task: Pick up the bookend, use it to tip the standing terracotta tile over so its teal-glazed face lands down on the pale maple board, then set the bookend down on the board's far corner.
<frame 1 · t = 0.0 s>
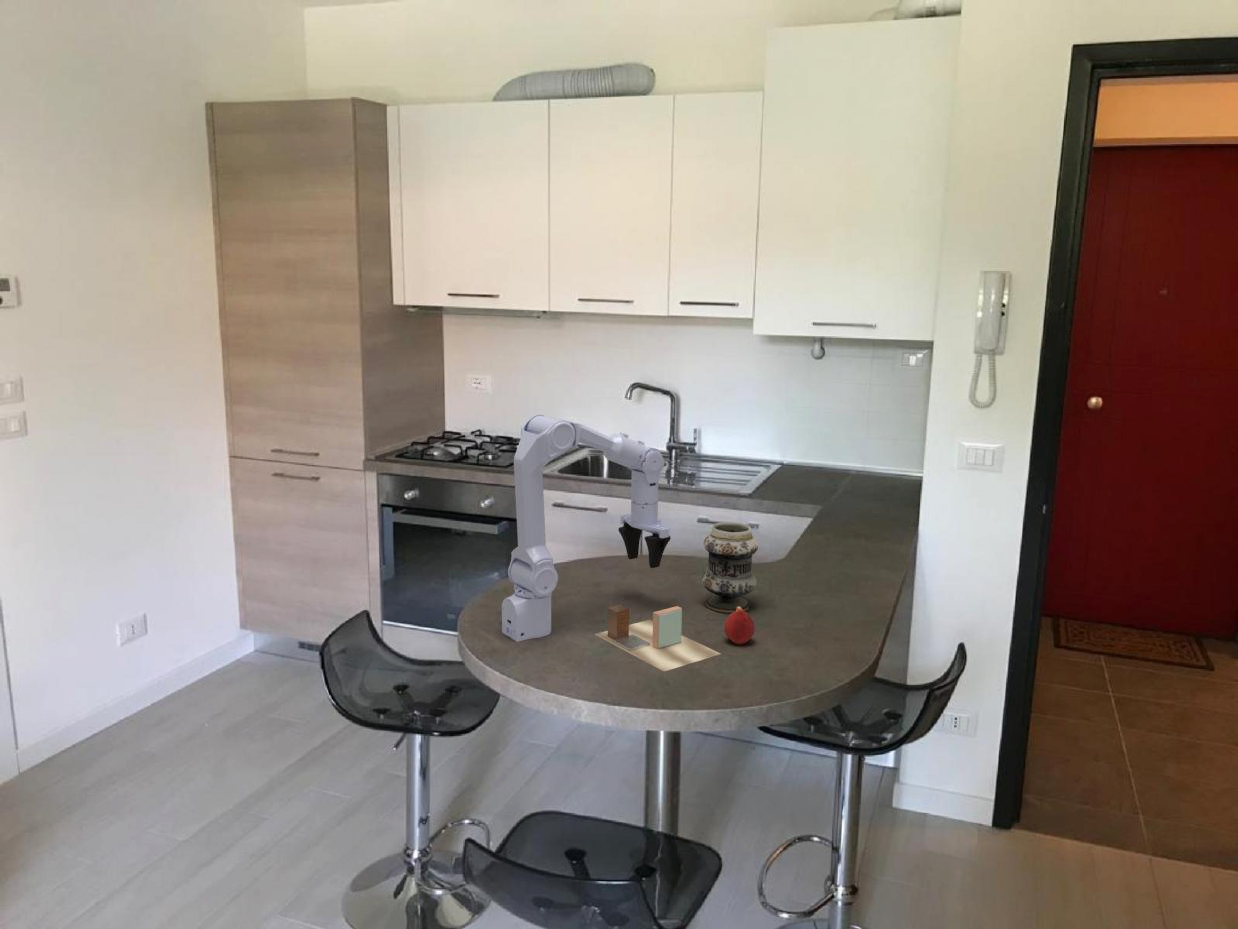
hand: (643, 562, 203), 10 cm above the countertop, fingers open, 7 cm apart
board: (656, 647, 182), on the countertop
onion: (738, 646, 184), on the countertop
tile: (666, 644, 182), point 1 cm above the countertop, touching board
apothecary jar: (728, 606, 206), on the countertop
bookend: (618, 637, 185), point 1 cm above the countertop, touching board
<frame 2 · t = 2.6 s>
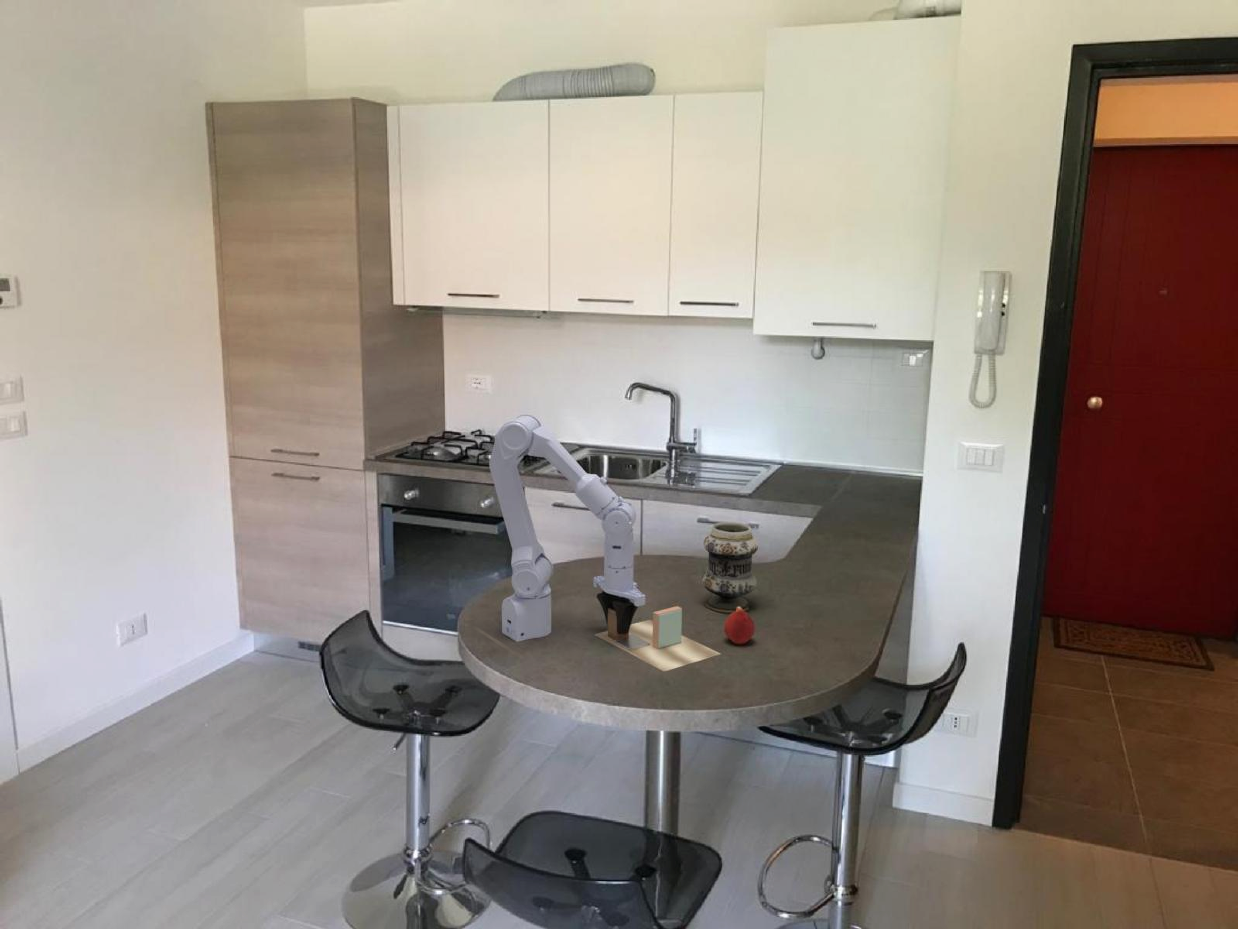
hand: (618, 630, 185), 2 cm above the countertop, fingers closed on bookend, 3 cm apart
bookend: (618, 637, 185), point 1 cm above the countertop, touching board, gripper
everything else where it was.
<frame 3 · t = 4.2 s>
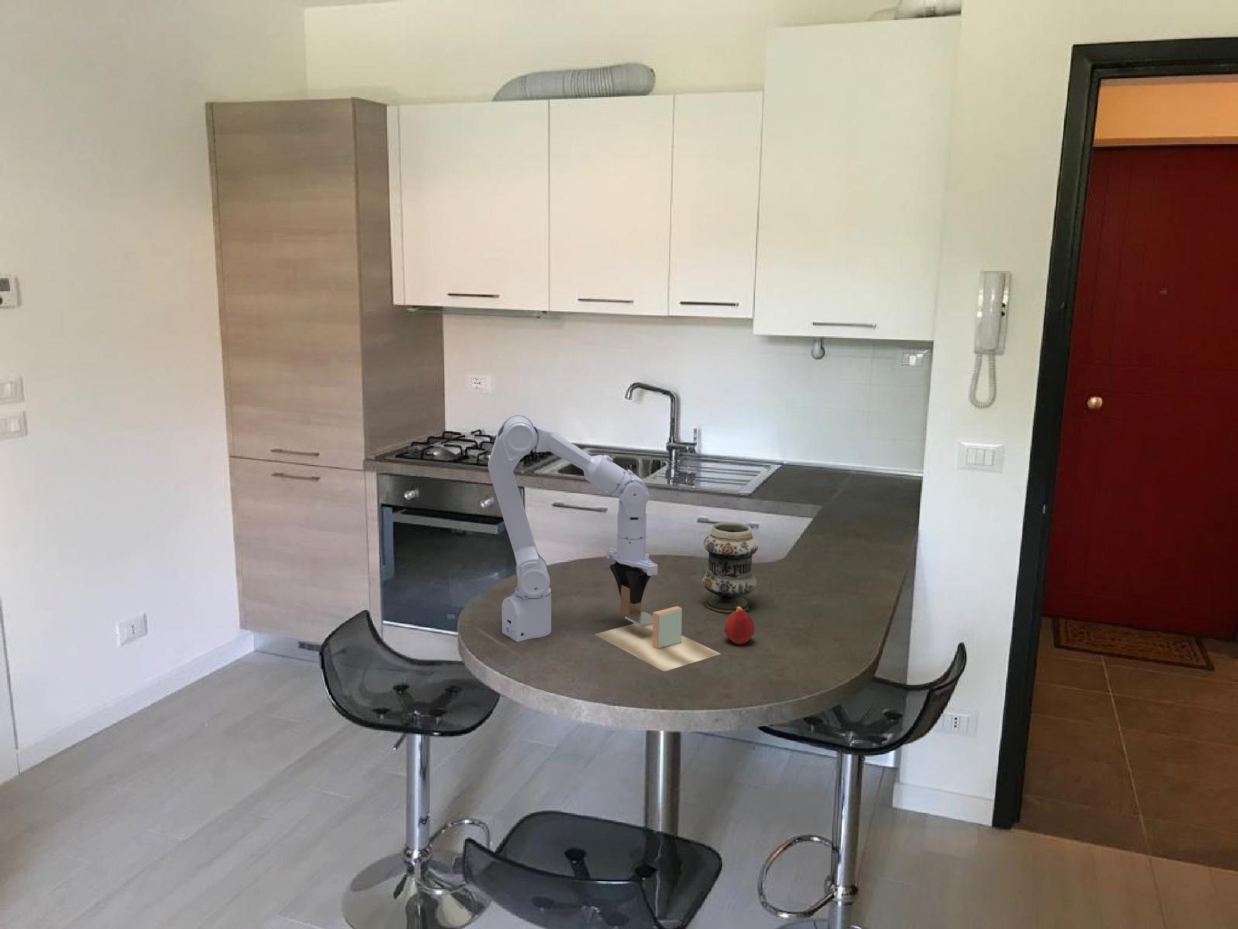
hand: (630, 600, 190), 6 cm above the countertop, fingers closed on bookend, 3 cm apart
bookend: (630, 613, 191), point 3 cm above the countertop, touching gripper
everything else where it was.
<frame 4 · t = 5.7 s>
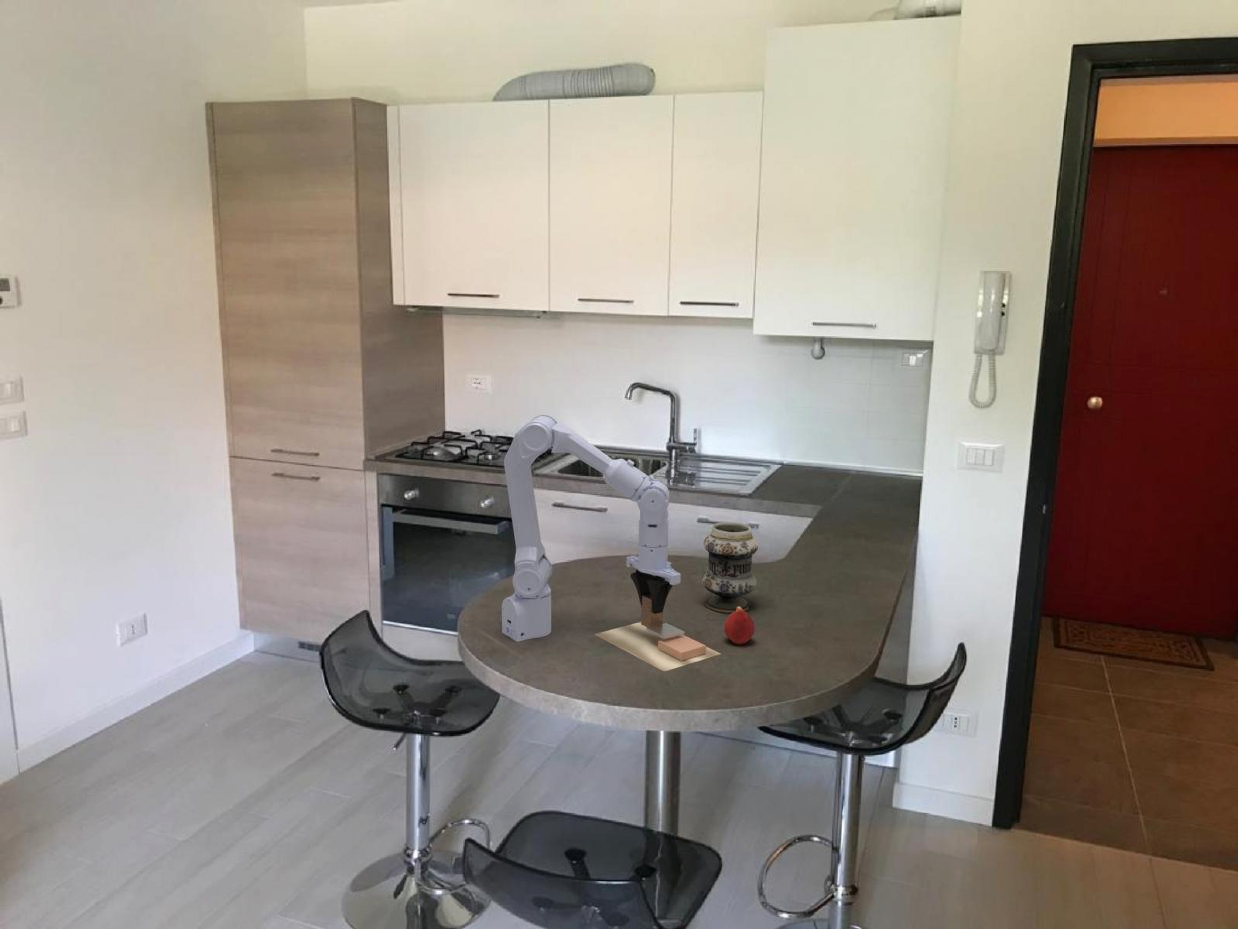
hand: (652, 610, 185), 6 cm above the countertop, fingers closed on bookend, 3 cm apart
tile: (670, 641, 181), point 2 cm above the countertop, tilted 90°, touching board
bookend: (651, 625, 185), point 3 cm above the countertop, touching gripper
everything else where it was.
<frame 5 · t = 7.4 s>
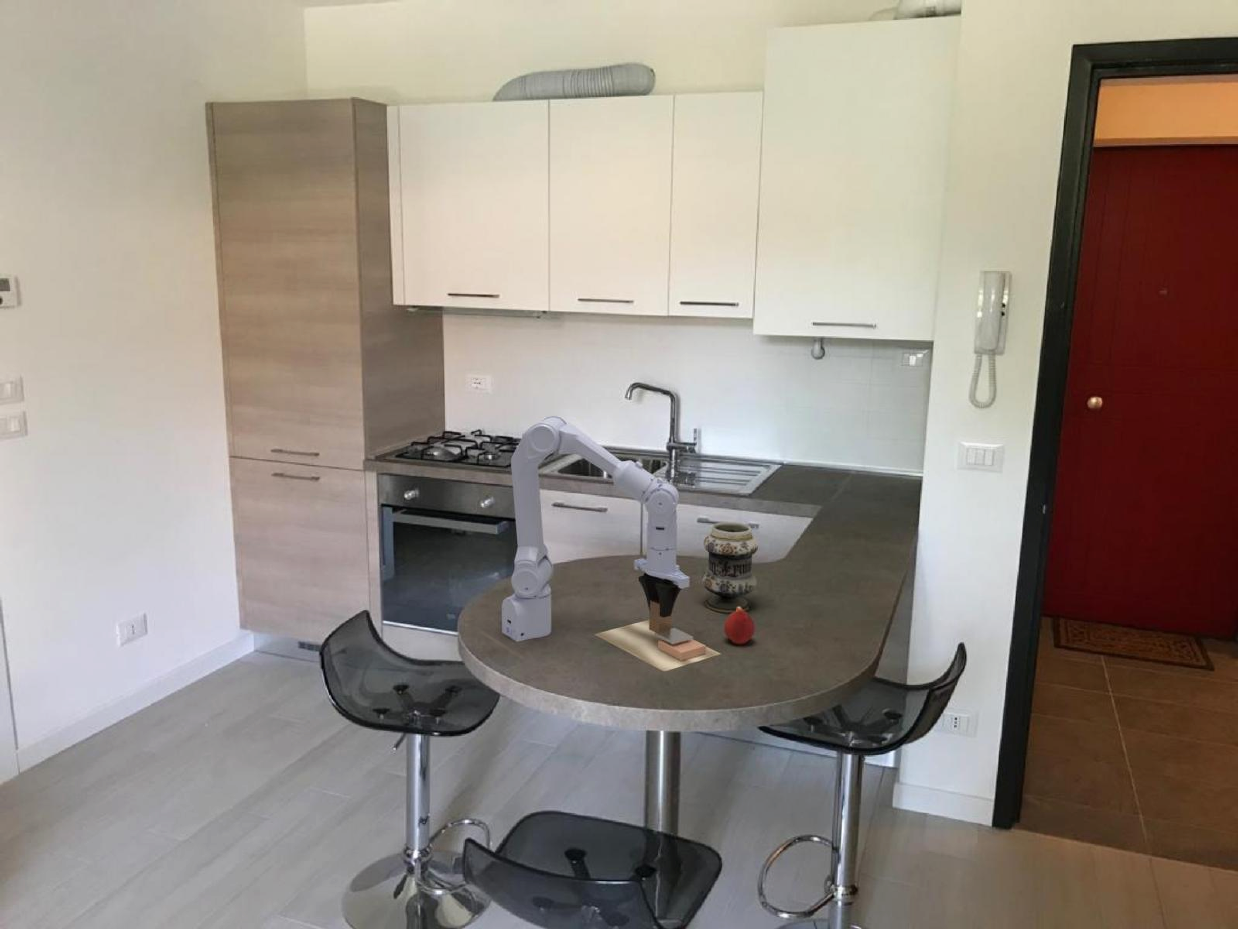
hand: (660, 613, 183), 6 cm above the countertop, fingers closed on bookend, 3 cm apart
bookend: (659, 630, 183), point 3 cm above the countertop, touching gripper
everything else where it was.
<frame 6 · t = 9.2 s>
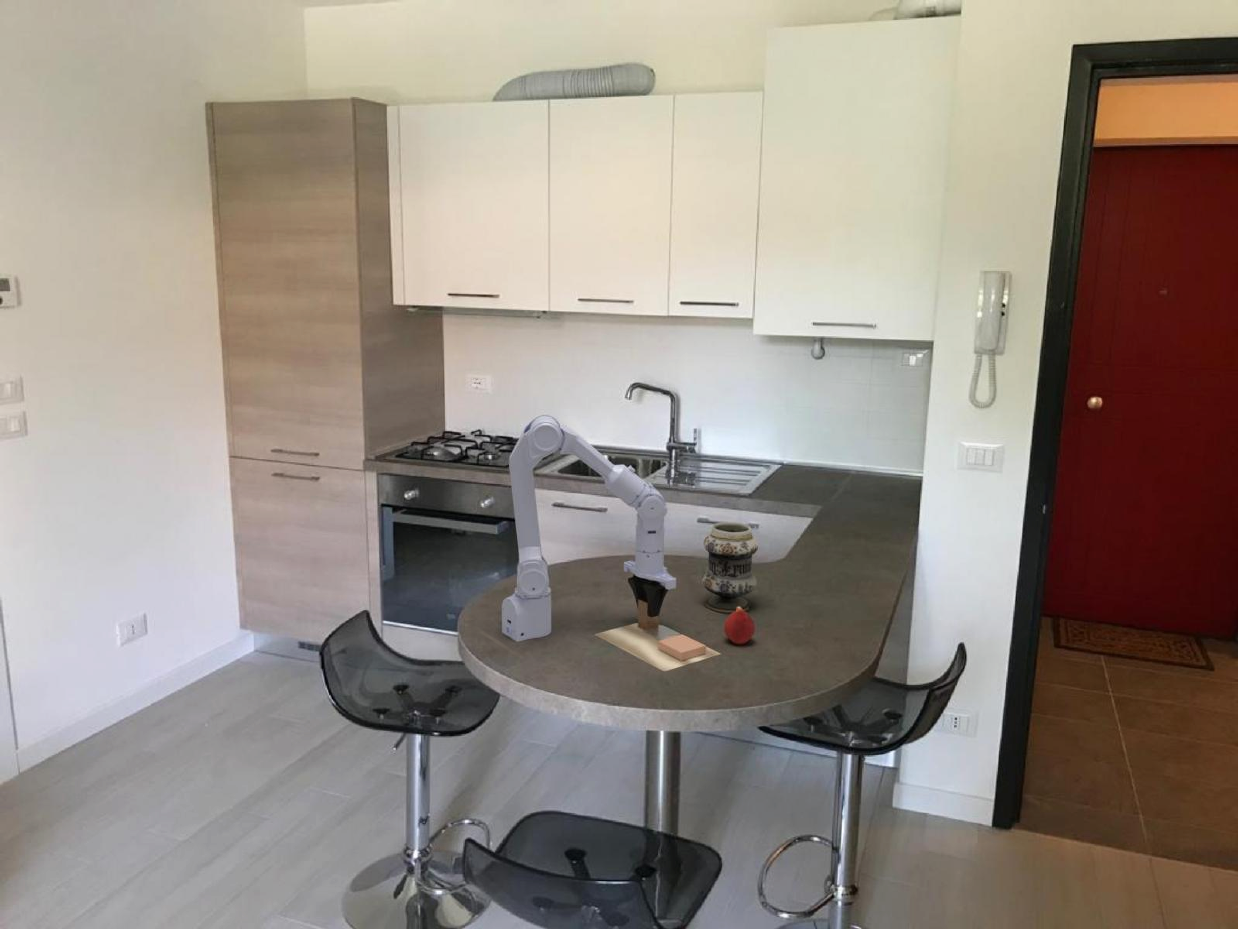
hand: (648, 613, 190), 4 cm above the countertop, fingers closed on bookend, 3 cm apart
bookend: (648, 627, 190), point 1 cm above the countertop, touching board, gripper
everything else where it was.
when the fingers open (4 cm above the countertop, at t = 9.3 s): bookend stays where it is, resting on board.
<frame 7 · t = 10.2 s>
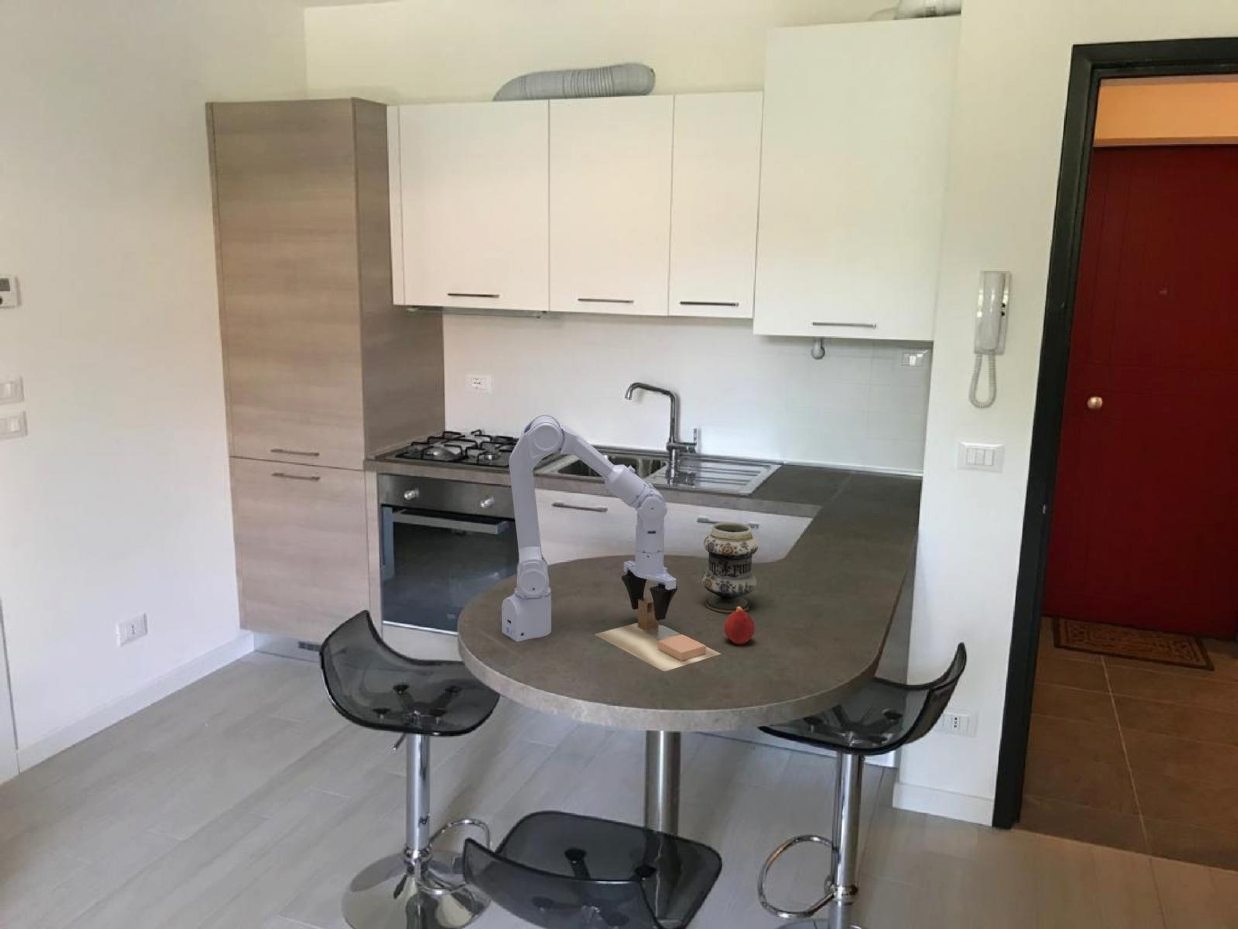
hand: (648, 613, 190), 4 cm above the countertop, fingers open, 7 cm apart
bookend: (648, 627, 190), point 1 cm above the countertop, touching board
everything else where it was.
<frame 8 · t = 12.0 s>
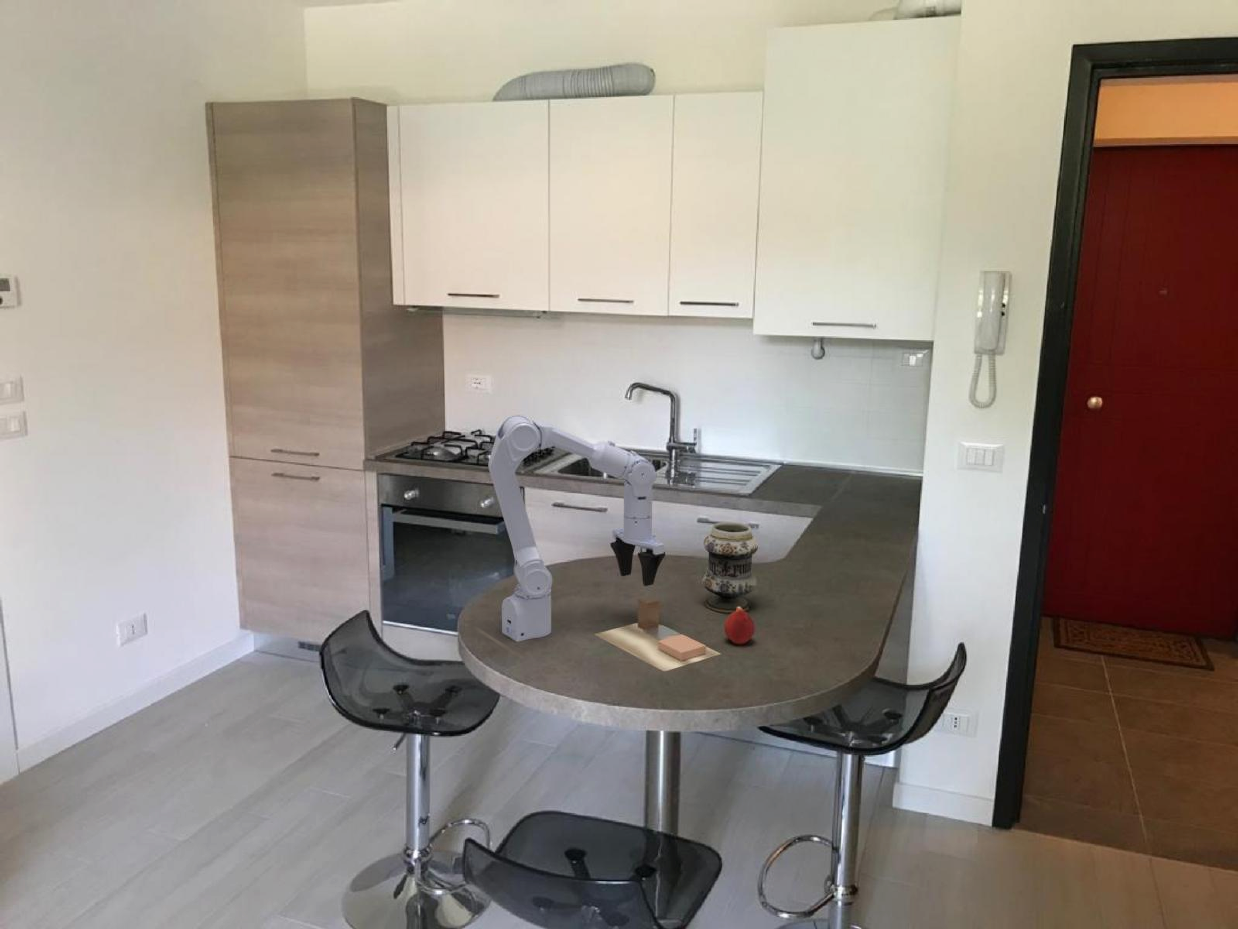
hand: (636, 580, 192), 10 cm above the countertop, fingers open, 7 cm apart
nothing on the countertop moved.
at the end: tile tilted 90°; the gripper is holding nothing; bookend inside the target area (0.5 cm from its centre), point 0.8 cm above the countertop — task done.
